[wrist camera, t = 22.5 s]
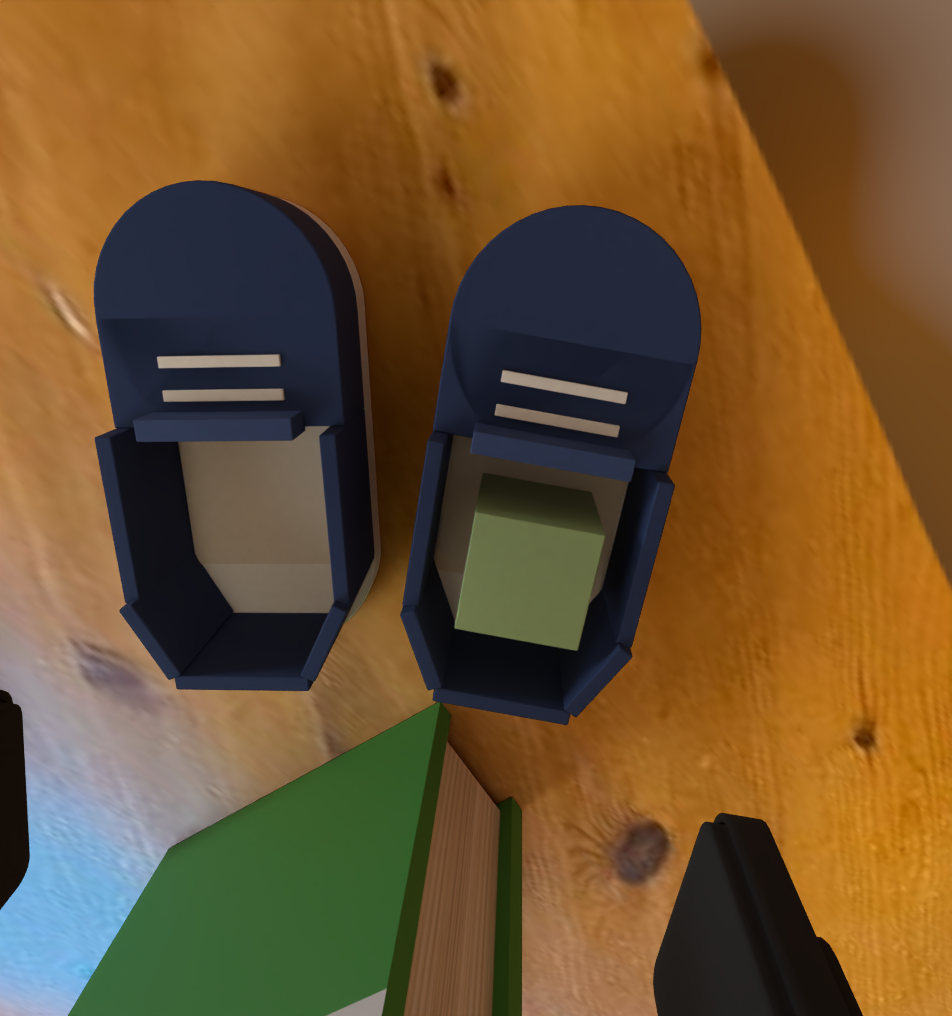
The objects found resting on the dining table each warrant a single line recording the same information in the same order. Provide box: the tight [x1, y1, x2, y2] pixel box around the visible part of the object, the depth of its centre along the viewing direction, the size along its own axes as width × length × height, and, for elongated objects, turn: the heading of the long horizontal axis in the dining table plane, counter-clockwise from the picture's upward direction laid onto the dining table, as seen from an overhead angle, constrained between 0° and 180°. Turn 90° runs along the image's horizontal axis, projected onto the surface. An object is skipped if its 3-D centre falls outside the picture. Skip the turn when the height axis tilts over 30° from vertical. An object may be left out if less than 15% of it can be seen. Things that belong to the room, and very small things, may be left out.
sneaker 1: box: [94, 180, 381, 691], centre depth 29 cm, size 19×9×7 cm, turn 1°
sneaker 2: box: [400, 205, 701, 725], centre depth 28 cm, size 19×9×7 cm, turn 170°
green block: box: [454, 473, 605, 651], centre depth 29 cm, size 5×5×5 cm
